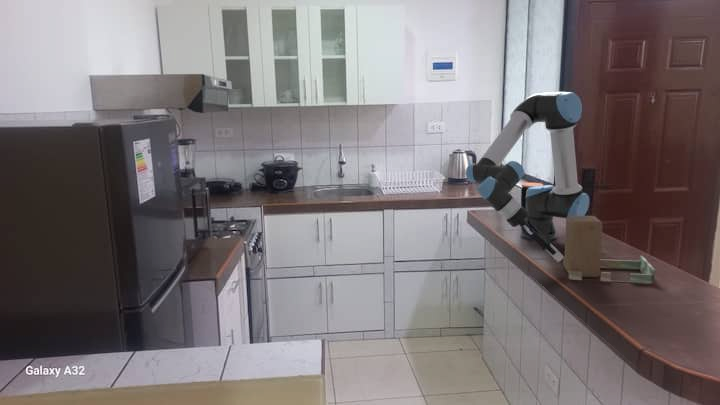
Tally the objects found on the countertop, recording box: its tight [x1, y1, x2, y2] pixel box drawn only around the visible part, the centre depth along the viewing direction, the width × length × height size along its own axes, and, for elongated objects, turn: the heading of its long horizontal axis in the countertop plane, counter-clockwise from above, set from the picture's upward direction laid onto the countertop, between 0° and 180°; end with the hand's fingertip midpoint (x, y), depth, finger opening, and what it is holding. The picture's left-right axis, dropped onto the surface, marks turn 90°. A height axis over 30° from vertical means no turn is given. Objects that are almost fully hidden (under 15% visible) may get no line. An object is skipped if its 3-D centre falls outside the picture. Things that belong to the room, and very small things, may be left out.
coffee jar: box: [520, 182, 544, 210], centre depth 252 cm, size 11×11×18 cm
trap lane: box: [568, 255, 656, 285], centre depth 171 cm, size 15×26×5 cm, turn 74°
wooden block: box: [563, 215, 603, 278], centre depth 171 cm, size 10×10×20 cm
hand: (560, 259), depth 174 cm, fingers closed
